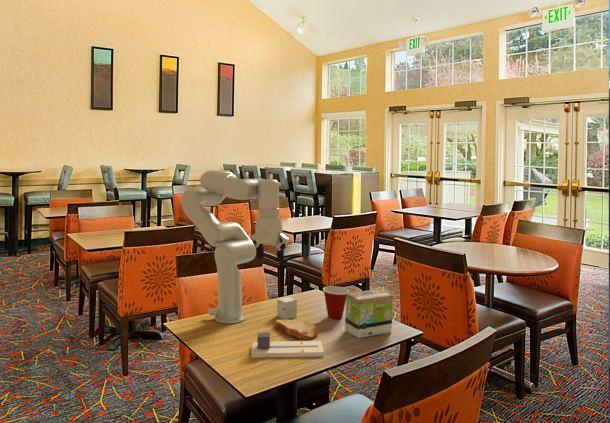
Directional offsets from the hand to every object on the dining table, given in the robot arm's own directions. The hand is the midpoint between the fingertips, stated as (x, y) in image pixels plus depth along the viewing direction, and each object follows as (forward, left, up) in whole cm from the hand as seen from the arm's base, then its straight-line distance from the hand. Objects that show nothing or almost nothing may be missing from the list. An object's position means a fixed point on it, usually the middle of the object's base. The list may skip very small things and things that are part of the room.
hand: (270, 259), depth 185 cm
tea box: (+37, 0, -28) cm, 46 cm away
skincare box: (+6, +19, -28) cm, 35 cm away
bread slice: (+9, +2, -29) cm, 30 cm away
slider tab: (-2, -17, -26) cm, 32 cm away
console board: (+6, -17, -28) cm, 34 cm away
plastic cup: (+26, +17, -28) cm, 42 cm away
